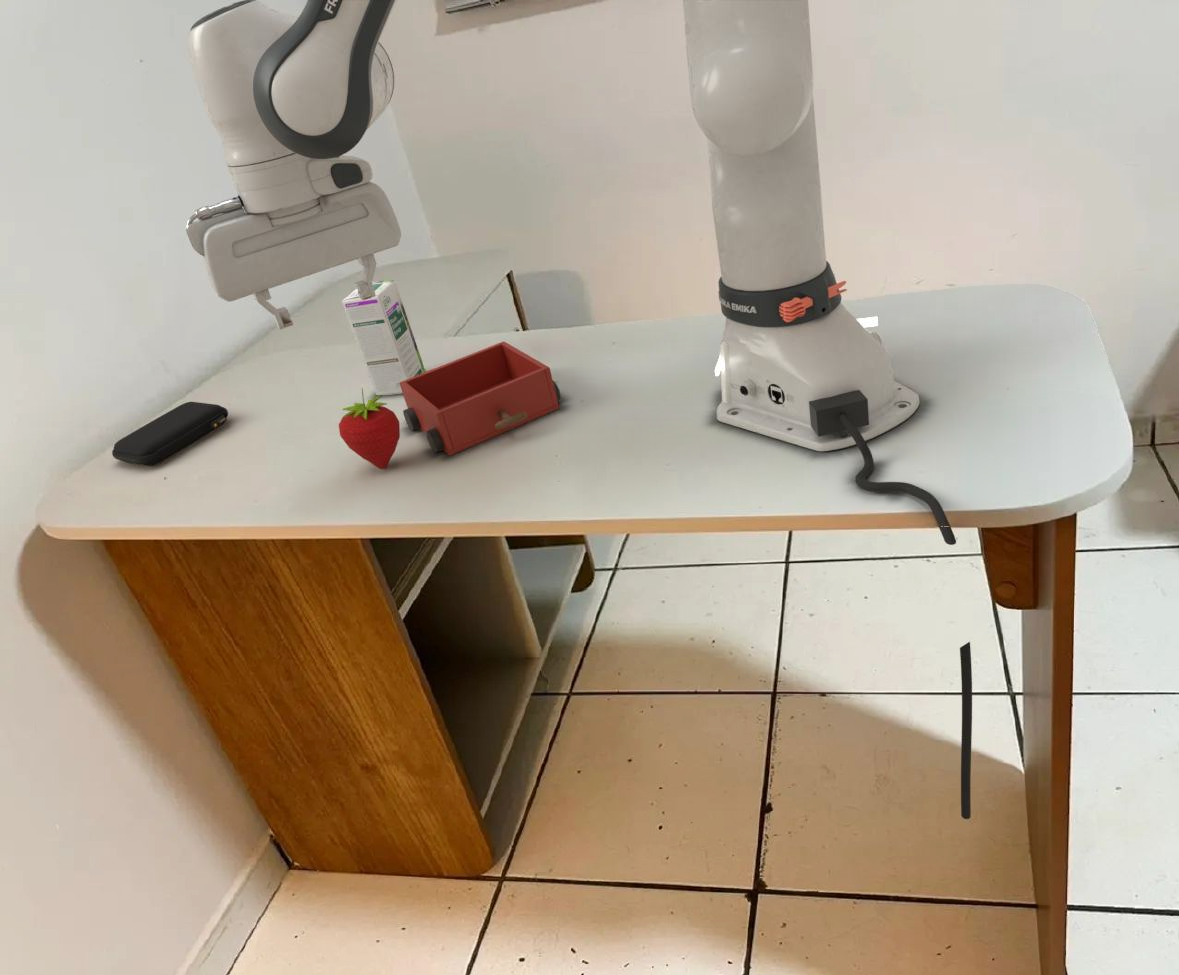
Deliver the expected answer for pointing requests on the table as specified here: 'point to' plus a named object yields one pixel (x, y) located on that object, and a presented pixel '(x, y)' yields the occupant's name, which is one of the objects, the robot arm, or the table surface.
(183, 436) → the carrying case
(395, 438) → the strawberry
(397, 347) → the syrup box
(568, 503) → the table surface
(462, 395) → the toy wagon
